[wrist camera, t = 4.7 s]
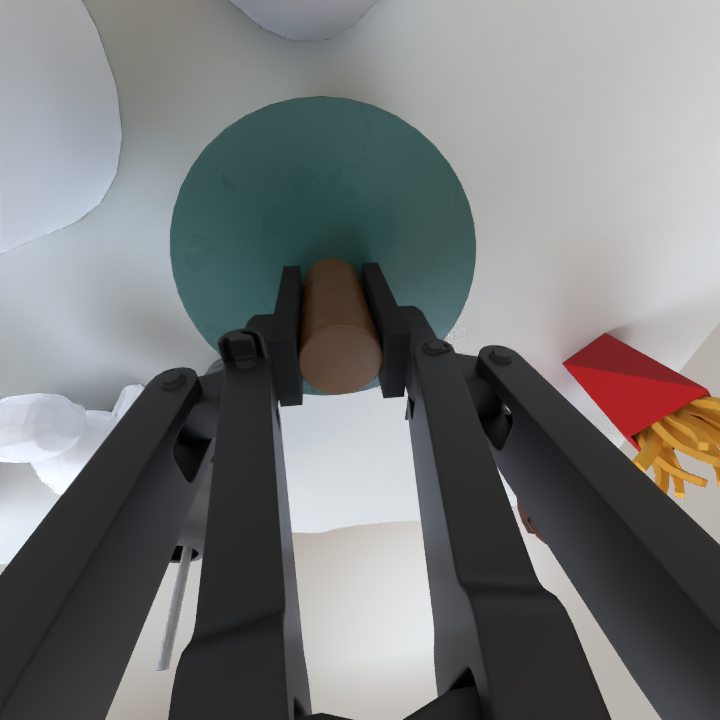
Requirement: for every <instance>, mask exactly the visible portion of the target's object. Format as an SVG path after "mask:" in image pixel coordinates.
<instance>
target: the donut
mask: <svg viewBox="0 0 720 720" xmlns="http://www.w3.org/2000/svg"><path fill="white" fill-rule="evenodd" d="M230 1H231V2H232V3H233V4H234V5H235V6H236V7H238V8H239V9H240V10H241V11H242V12H244V13H245V14H246V15H247V16H248V17H249V18H251V19H252V20H253V21H254V22H255V23H257V24H258V25H259V26H260V27H261V28H263V29H265V30H268V31H270V32H273V33H275V34H278V35H280V36H283V37H286V38H288V39H291V40H293V41H307V40H326V39H328V38H330V37H332V36H334V35H336V34H338V33H340V32H342V31H344V30H346V29H347V28H349V27H351V26H353V25H355V24H356V22H357V21H358V20H359V19H360V18H361V17H362V16H363V14H364V13H365V12H366V11H367V10H368V9H369V8H370V7H371V5H372V4H373V3H374V2H375V1H376V0H230Z"/></svg>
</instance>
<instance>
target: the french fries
mask: <svg viewBox="0 0 720 720" xmlns="http://www.w3.org/2000/svg"><path fill="white" fill-rule="evenodd" d="M562 364H563V365H564V366H565V367H566V368H567V370H568V371H569V372H570V373H571V374H572V376H573V377H574V378H575V379H576V380H577V381H578V383H579V384H580V385H581V386H582V387H583V388H584V390H585V391H586V392H587V393H588V394H589V396H590V397H591V398H592V399H593V400H594V401H595V403H596V404H597V405H598V406H599V407H600V409H601V410H602V411H603V412H604V413H605V414H606V416H607V417H608V418H609V419H610V420H611V422H612V423H613V424H614V425H615V426H616V427H617V429H618V430H619V431H620V432H621V433H622V434H623V436H624V437H625V438H626V439H627V440H628V441H629V442H630V443H631V444H632V445H633V446H634V447H635V448H636V449H637V450H638V451H639V453H638V455H637V456H636V457H635V458H634V460H633V461H632V462H633V463H634V464H635V465H636V466H637V467H638V468H639V469H640V470H641V471H646V470H647V469H648V468H649V467H650V466H651V464H652V466H653V469H654V472H655V484H656V485H657V486H658V487H659V488H660V489H661V490H662V491H663V492H665V493H666V494H667V491H668V487H669V474H671V476H672V478H673V482H674V485H675V497H679V498H684V499H685V492H684V483H683V480H685V481H688V482H690V483H693V484H695V485H698V486H700V487H706V484H707V482H708V480H706V479H703V478H701V477H698V476H695V475H692V474H690V473H687V472H686V471H684V470H682V469H681V467H680V465H679V462H678V460H677V458H676V455H675V453H674V451H673V450H674V449H676V450H678V451H681V452H683V453H685V454H687V455H689V456H691V457H693V458H695V459H697V460H700V461H703V462H705V463H708V464H711V465H713V467H714V470H715V472H716V477H717V484H718V487H720V450H719V449H718V447H720V398H717V397H711V395H710V393H709V392H708V390H707V389H706V388H704V387H702V386H700V385H699V384H697V383H695V382H693V381H691V380H689V379H688V378H685V377H684V376H682V375H680V374H679V373H677V372H675V371H673V370H671V369H670V368H668V367H666V366H664V365H662V364H661V363H659V362H657V361H655V360H653V359H652V358H650V357H648V356H646V355H644V354H643V353H641V352H639V351H637V350H635V349H634V348H632V347H630V346H628V345H626V344H624V343H623V342H621V341H619V340H617V339H615V338H614V337H612V336H610V335H608V334H606V333H605V334H603V335H602V336H600V337H599V338H598V339H596V340H595V341H593V342H592V343H591V344H589V345H588V346H586V347H585V348H584V349H582V350H581V351H579V352H578V353H576V354H575V355H574V356H572V357H571V358H569V359H568V360H567V361H565V362H564V363H562ZM716 445H717V446H718V447H717V446H716Z"/></svg>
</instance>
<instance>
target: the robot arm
mask: <svg viewBox="0 0 720 720" xmlns="http://www.w3.org/2000/svg"><path fill="white" fill-rule="evenodd" d="M362 285H363V288H364V292H365V295H366V298H367V301H368V305H369V308H370V311H371V314H372V318H373V321H374V324H375V327H376V330H377V334H378V337H379V340H380V343H381V347H382V350H383V364H382V368H381V370H380V372H379V374H378V378H379V382H380V386H381V390H382V393H383V397H384V398H393V397H404V392H405V386H406V389H407V392H408V400H407V408H406V416H405V420H408V418H409V426H410V434H411V442H412V450H413V458H414V466H415V475H416V483H417V491H418V499H419V507H420V515H421V523H422V531H423V539H424V548H425V556H426V564H427V572H428V580H429V588H430V596H431V604H432V613H433V621H434V664H435V676H436V685H437V693H438V698H436V699H435V700H433V701H432V702H430V703H429V704H427V705H425V706H424V707H422V708H420V709H419V710H417V711H416V712H414V713H413V714H411V715H410V716H408V717H406V718H405V719H403V720H611V717H610V715H609V712H608V710H607V707H606V705H605V703H604V700H603V697H602V695H601V693H600V690H599V687H598V685H597V682H596V680H595V678H594V675H593V673H592V670H591V668H590V665H589V663H588V660H587V658H586V655H585V653H584V650H583V648H582V645H581V643H580V640H579V638H578V635H577V633H576V630H575V628H574V625H573V623H572V622H571V619H570V617H569V615H568V613H567V611H566V609H565V607H564V606H563V605H562V603H561V602H560V601H559V599H558V598H557V597H556V596H555V595H554V594H552V593H550V592H549V591H547V590H546V589H544V588H543V586H542V585H541V584H540V582H539V580H538V578H537V576H536V574H535V571H534V569H533V566H532V563H531V560H530V557H529V555H528V552H527V549H526V546H525V544H524V541H523V538H522V536H521V533H520V530H519V527H518V524H517V522H516V519H515V516H514V513H513V511H512V508H511V505H510V502H509V500H508V497H507V494H506V491H505V488H504V486H503V483H502V480H501V477H500V475H499V472H498V469H499V470H500V472H501V474H502V475H503V477H504V478H505V480H506V481H507V483H508V484H509V486H510V487H511V489H512V491H513V492H514V494H515V495H516V497H517V498H518V500H519V501H520V503H521V505H522V506H523V508H524V509H525V511H526V512H527V514H528V515H529V517H530V519H531V520H532V522H533V523H534V525H535V526H536V528H537V529H538V531H539V533H540V534H541V536H542V537H543V539H544V540H545V542H546V543H547V545H548V546H549V548H550V549H551V551H552V553H553V554H554V556H555V557H556V559H557V560H558V562H559V564H560V565H561V567H562V568H563V570H564V571H565V573H566V574H567V576H568V578H569V579H570V581H571V582H572V584H573V585H574V587H575V588H576V590H577V591H578V593H579V595H580V596H581V598H582V599H583V601H584V602H585V604H586V605H587V607H588V609H589V610H590V612H591V613H592V615H593V616H594V618H595V619H596V621H597V623H598V624H599V626H600V627H601V629H602V630H603V632H604V633H605V635H606V637H607V638H608V639H609V641H610V643H611V644H612V646H613V647H614V649H615V650H616V652H617V653H618V655H619V656H620V658H621V660H622V661H623V663H624V665H625V666H626V668H627V669H628V671H629V672H630V674H631V675H632V677H633V678H634V680H635V681H636V683H637V684H638V686H639V687H640V689H641V690H642V692H643V693H644V694H645V696H646V697H647V699H648V700H649V702H650V703H651V705H652V706H653V707H654V709H655V710H656V712H657V713H658V715H659V716H660V718H661V719H662V720H720V545H719V544H718V543H717V542H716V541H715V540H714V539H713V538H712V537H711V536H710V535H709V534H708V533H707V532H705V530H703V529H702V528H701V527H700V526H699V525H698V524H697V523H696V522H695V521H694V520H693V519H692V518H691V517H690V516H689V515H687V513H686V512H685V511H683V510H682V509H681V508H680V507H679V506H678V505H677V504H676V503H675V502H674V501H673V500H672V499H671V498H670V497H669V496H667V494H666V493H665V492H663V491H662V490H661V489H660V488H659V487H658V486H657V485H656V484H655V483H654V482H653V481H652V480H651V479H650V478H649V477H648V476H646V474H645V473H643V472H642V471H641V470H640V469H639V468H638V467H637V466H636V465H635V464H634V463H633V462H632V461H631V460H630V459H629V458H627V456H626V455H624V454H623V453H622V452H621V451H620V450H619V449H618V448H617V447H616V446H615V445H614V444H613V443H612V442H611V441H610V440H609V439H608V438H607V437H606V436H604V435H603V434H602V433H601V432H600V431H599V430H598V429H597V428H596V427H595V426H594V425H593V424H592V423H591V422H590V421H589V420H588V419H587V418H585V417H584V416H583V415H582V414H581V413H580V412H579V411H578V410H577V409H576V408H575V407H574V406H573V405H572V404H571V403H570V402H569V401H568V400H567V399H565V398H564V397H563V396H562V395H561V394H560V393H559V392H558V391H557V390H556V389H555V388H554V387H553V386H552V385H551V384H550V383H549V382H548V381H546V380H545V379H544V378H543V377H542V376H541V375H540V374H539V373H538V372H537V371H536V370H535V369H534V368H533V367H532V366H531V365H530V364H529V363H528V362H526V361H525V360H524V359H523V358H522V357H521V356H520V355H519V354H518V353H516V352H515V351H513V350H511V349H509V348H507V347H504V346H498V345H489V346H486V347H483V348H482V349H481V350H480V351H479V355H478V356H470V355H463V354H458V353H455V351H454V348H453V347H452V346H451V344H449V343H448V342H446V341H444V340H441V339H438V338H437V336H436V334H435V333H434V331H433V329H432V328H431V326H430V324H429V322H428V321H427V319H426V317H425V316H424V314H423V312H422V311H421V310H420V309H418V308H417V307H415V306H414V305H412V306H398V305H397V303H396V300H395V298H394V296H393V294H392V292H391V290H390V288H389V286H388V283H387V281H386V279H385V277H384V275H383V273H382V271H381V268H380V266H379V264H378V263H362ZM301 299H302V281H301V272H300V266H283V271H282V276H281V281H280V286H279V291H278V296H277V300H276V305H275V310H274V314H260V315H254V316H253V317H252V318H251V319H250V320H248V321H247V324H246V327H245V328H241V329H236V330H232V331H230V332H228V333H225V334H224V335H223V336H221V337H220V338H219V340H218V342H217V344H218V347H219V350H220V353H221V357H222V360H223V363H224V369H222V370H220V371H218V372H215V373H212V374H208V375H204V376H200V377H198V376H197V374H196V372H195V371H194V370H192V369H191V368H184V367H181V368H173V369H170V370H167V371H164V372H162V373H160V374H159V375H157V376H155V377H154V378H153V379H152V380H151V381H150V382H149V383H148V385H147V386H146V387H145V389H144V390H143V391H142V392H141V394H140V395H139V396H138V398H137V399H136V400H135V401H134V403H133V404H132V405H131V407H130V408H129V409H128V411H127V412H126V413H125V414H124V416H123V417H122V418H121V420H120V421H119V422H118V423H117V425H116V426H115V427H114V429H113V430H112V431H111V433H110V434H109V435H108V436H107V438H106V439H105V440H104V442H103V443H102V444H101V445H100V447H99V448H98V449H97V451H96V452H95V453H94V455H93V456H92V457H91V458H90V460H89V461H88V462H87V464H86V465H85V466H84V467H83V469H82V470H81V471H80V473H79V474H78V475H77V477H76V478H75V479H74V480H73V482H72V483H71V484H70V486H69V487H68V488H67V489H66V491H65V492H64V493H63V495H62V496H61V497H60V499H59V500H58V501H57V502H56V504H55V505H54V506H53V508H52V509H51V510H50V511H49V513H48V514H47V515H46V517H45V518H44V519H43V521H42V522H41V523H40V524H39V526H38V527H37V528H36V530H35V531H34V532H33V533H32V535H31V536H30V537H29V539H28V540H27V541H26V543H25V544H24V545H23V546H22V548H21V549H20V550H19V552H18V553H17V554H16V555H15V557H14V558H13V559H12V561H11V562H10V563H9V565H8V566H7V567H6V568H5V570H4V571H3V572H2V574H1V575H0V720H105V718H106V716H107V713H108V711H109V708H110V706H111V704H112V701H113V699H114V696H115V694H116V691H117V689H118V687H119V684H120V682H121V679H122V677H123V674H124V672H125V669H126V667H127V664H128V662H129V660H130V657H131V655H132V652H133V650H134V647H135V645H136V643H137V640H138V638H139V635H140V633H141V630H142V628H143V625H144V623H145V621H146V618H147V615H148V613H149V611H150V608H151V606H152V603H153V601H154V599H155V596H156V594H157V591H158V588H159V586H160V584H161V581H162V579H163V577H164V574H165V572H166V569H167V567H168V564H169V562H170V559H171V557H172V555H173V552H174V550H175V547H176V545H177V542H178V540H179V537H180V535H181V533H182V530H183V528H184V525H185V523H186V520H187V518H188V515H189V513H190V511H191V508H192V506H193V503H194V501H195V498H196V496H197V493H198V491H199V489H200V486H201V484H202V481H203V479H204V476H205V474H206V471H207V469H208V467H209V464H210V462H211V459H212V457H213V454H214V460H213V469H212V478H211V487H210V496H209V505H208V514H207V523H206V532H205V541H204V550H203V560H202V569H201V578H200V587H199V595H198V604H197V614H196V623H195V628H194V633H193V636H192V639H191V641H190V642H189V644H188V645H187V647H186V648H185V649H184V651H183V652H182V654H181V657H180V660H179V663H178V666H177V669H176V674H175V680H174V684H173V690H172V697H171V703H170V711H169V718H168V720H352V719H348V718H343V717H338V716H334V715H329V714H325V713H319V714H312V710H311V700H310V691H309V683H308V675H307V669H306V663H305V657H304V650H303V642H302V632H301V622H300V612H299V602H298V592H297V582H296V572H295V562H294V552H293V542H292V532H291V522H290V512H289V502H288V492H287V482H286V472H285V462H284V452H283V442H282V432H281V422H280V414H279V409H278V401H279V400H280V405H281V407H283V406H295V405H302V400H303V377H302V375H301V374H300V371H299V366H298V345H299V330H300V314H301ZM506 406H507V407H508V408H509V410H510V412H511V413H510V412H509V411H508V410H507V409H506ZM497 467H498V469H497Z"/></svg>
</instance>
